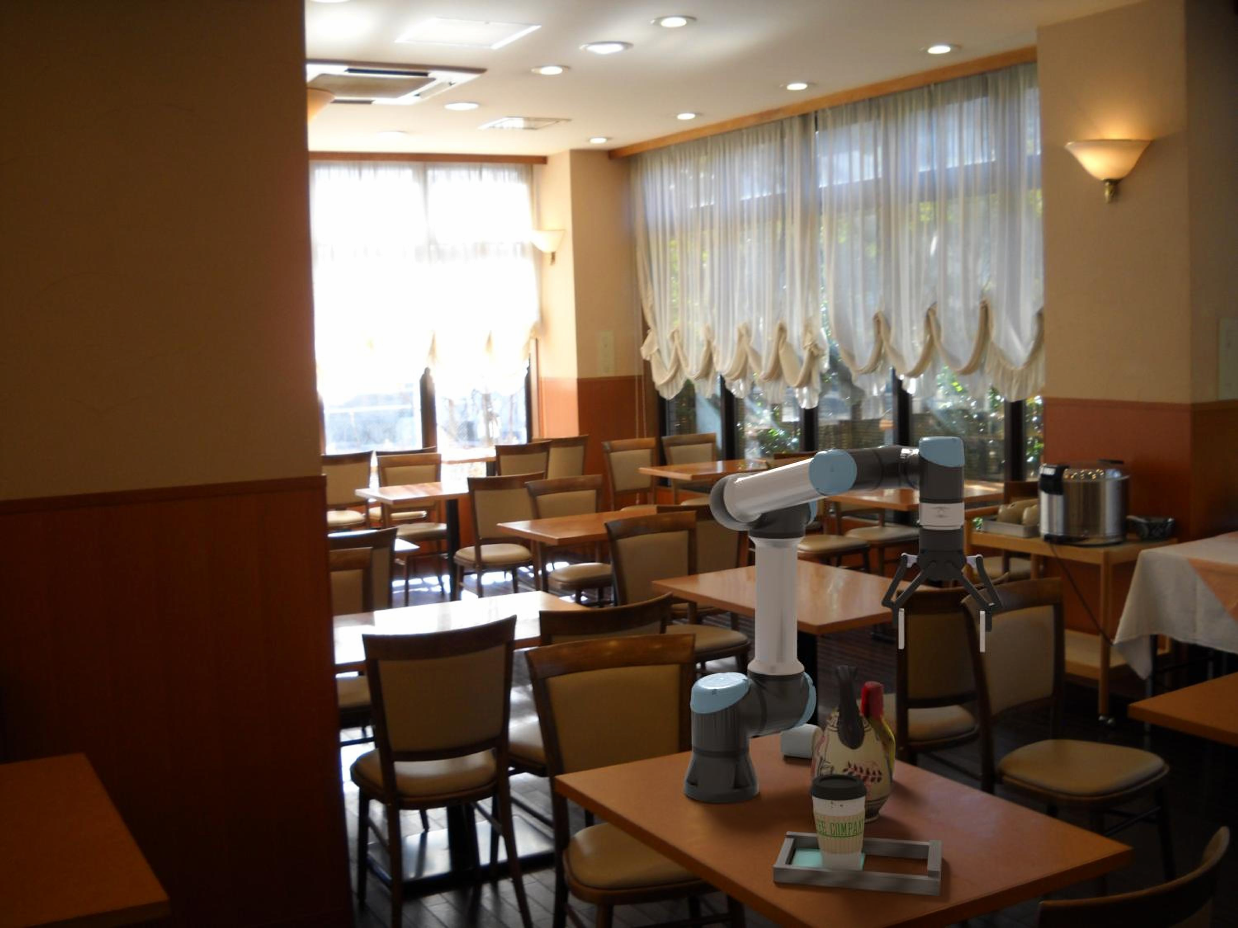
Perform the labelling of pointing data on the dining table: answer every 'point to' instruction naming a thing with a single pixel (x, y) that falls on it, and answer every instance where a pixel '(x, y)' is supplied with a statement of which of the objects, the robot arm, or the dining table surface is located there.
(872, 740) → the ceramic jug
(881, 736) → the bottle
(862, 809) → the coffee cup
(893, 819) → the dining table surface
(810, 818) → the dining table surface
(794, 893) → the dining table surface
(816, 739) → the ceramic mug
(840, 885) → the bay
